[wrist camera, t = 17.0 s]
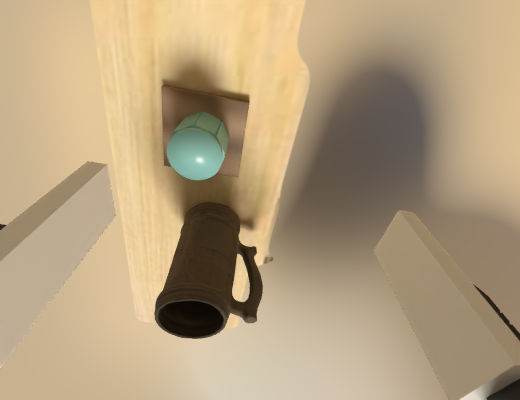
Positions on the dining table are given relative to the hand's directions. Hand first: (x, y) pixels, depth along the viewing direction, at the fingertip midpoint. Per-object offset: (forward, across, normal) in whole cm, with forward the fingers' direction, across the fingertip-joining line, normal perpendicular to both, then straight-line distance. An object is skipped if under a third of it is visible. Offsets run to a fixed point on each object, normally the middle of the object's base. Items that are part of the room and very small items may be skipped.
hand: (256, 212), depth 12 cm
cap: (+28, -7, -8) cm, 30 cm away
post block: (+29, -7, -8) cm, 31 cm away
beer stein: (+29, -2, -26) cm, 39 cm away
